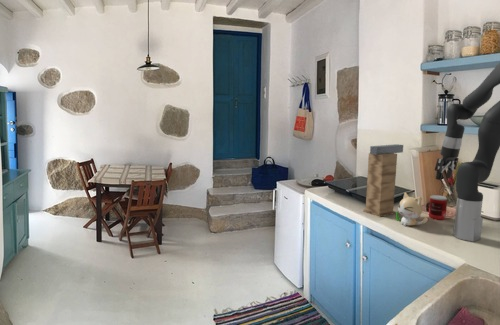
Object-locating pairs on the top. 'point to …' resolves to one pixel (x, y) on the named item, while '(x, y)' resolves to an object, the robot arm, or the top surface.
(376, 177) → the stand
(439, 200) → the canned food
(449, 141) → the robot arm
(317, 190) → the top surface
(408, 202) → the kitten
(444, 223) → the top surface
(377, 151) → the block
